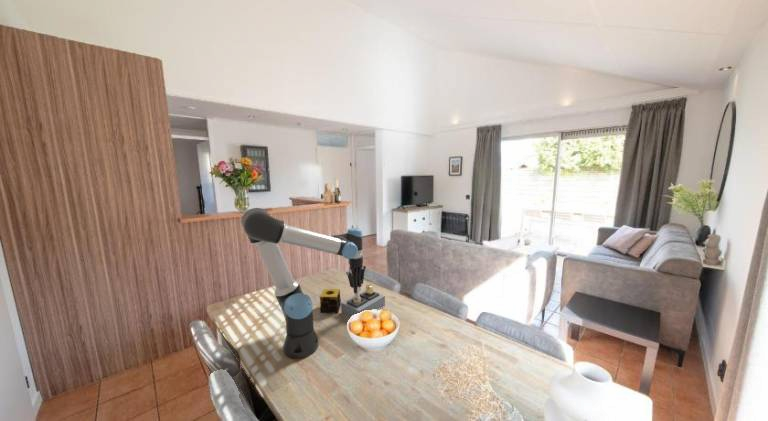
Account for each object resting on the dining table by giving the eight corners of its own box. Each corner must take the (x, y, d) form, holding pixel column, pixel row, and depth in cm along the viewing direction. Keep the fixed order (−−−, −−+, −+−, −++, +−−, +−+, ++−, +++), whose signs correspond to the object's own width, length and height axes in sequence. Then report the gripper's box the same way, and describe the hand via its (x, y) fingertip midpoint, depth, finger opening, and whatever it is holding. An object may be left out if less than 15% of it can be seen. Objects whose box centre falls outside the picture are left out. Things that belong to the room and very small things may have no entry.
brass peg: (369, 300, 156) (369, 288, 155) (364, 297, 159) (364, 286, 158) (374, 297, 159) (374, 285, 158) (369, 295, 162) (369, 283, 161)
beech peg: (357, 312, 149) (357, 300, 148) (352, 310, 152) (351, 298, 151) (362, 309, 152) (362, 297, 151) (357, 307, 155) (357, 295, 154)
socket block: (359, 321, 144) (359, 309, 142) (341, 312, 153) (341, 300, 151) (385, 305, 160) (384, 294, 158) (367, 298, 168) (367, 287, 167)
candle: (338, 313, 152) (337, 296, 150) (319, 313, 152) (319, 297, 150) (341, 304, 162) (340, 288, 160) (324, 304, 162) (323, 288, 160)
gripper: (351, 261, 139) (353, 304, 144) (369, 254, 149) (370, 295, 153) (341, 258, 144) (343, 300, 148) (359, 252, 154) (360, 291, 158)
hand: (357, 297), depth 151 cm, fingers closed
